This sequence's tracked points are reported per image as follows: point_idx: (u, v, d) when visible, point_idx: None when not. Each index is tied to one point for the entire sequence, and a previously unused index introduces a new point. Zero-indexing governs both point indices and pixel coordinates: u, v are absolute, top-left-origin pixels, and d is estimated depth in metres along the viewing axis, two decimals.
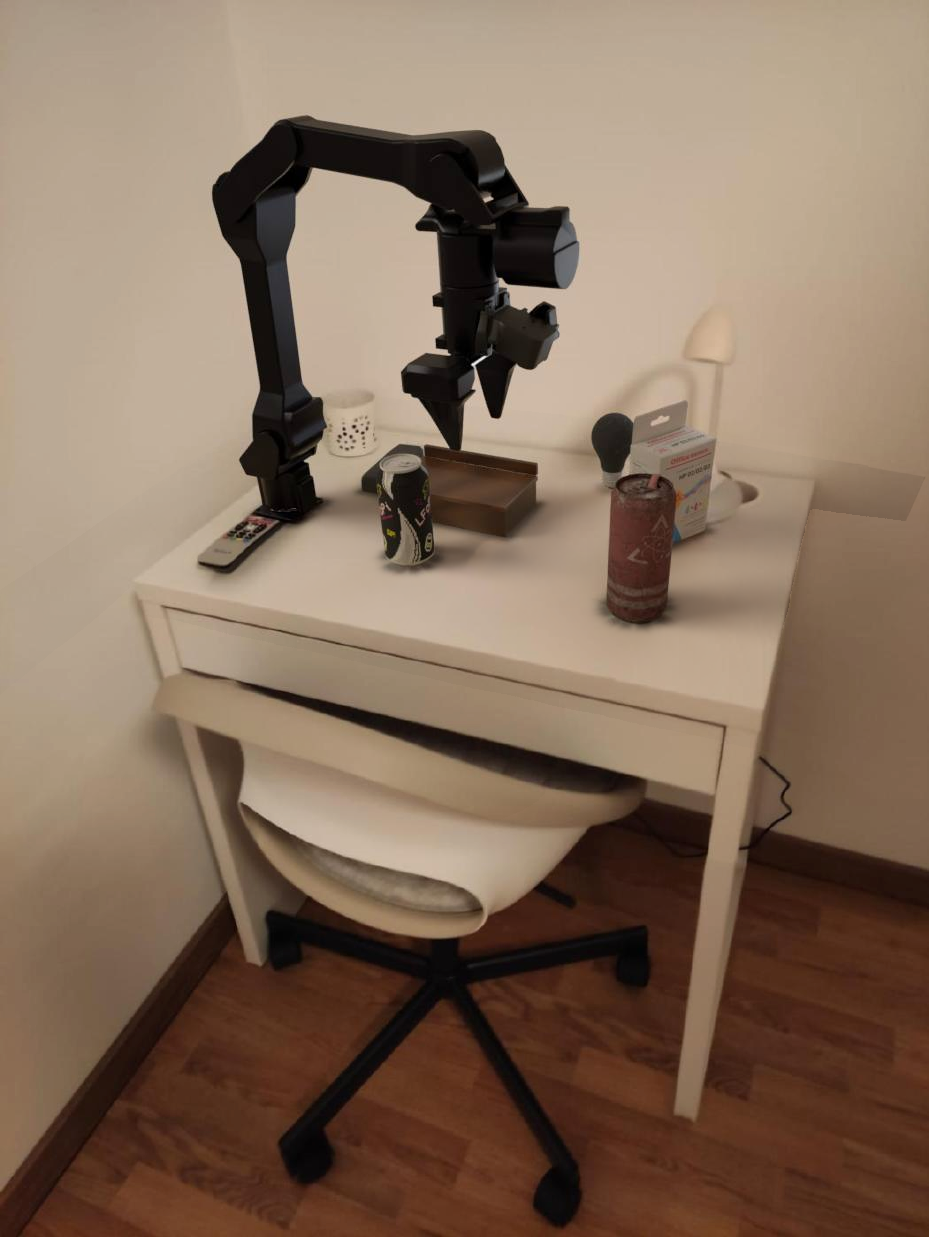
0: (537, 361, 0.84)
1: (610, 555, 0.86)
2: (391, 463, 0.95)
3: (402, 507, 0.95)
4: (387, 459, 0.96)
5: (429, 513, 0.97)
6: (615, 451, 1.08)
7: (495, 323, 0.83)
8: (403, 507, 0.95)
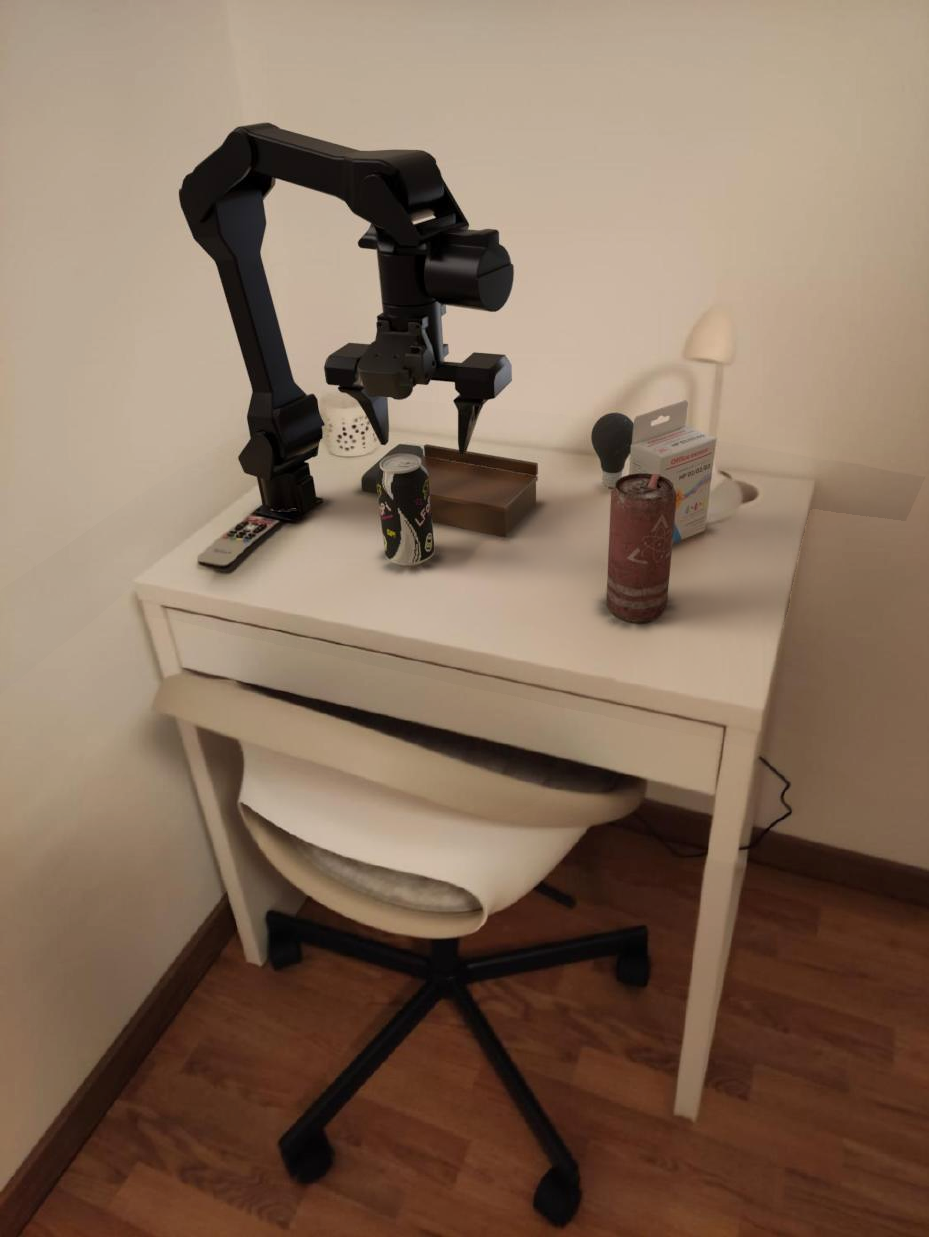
0: (371, 391, 0.84)
1: (610, 555, 0.86)
2: (391, 463, 0.95)
3: (402, 507, 0.95)
4: (387, 459, 0.96)
5: (429, 513, 0.97)
6: (615, 451, 1.08)
7: None
8: (403, 507, 0.95)
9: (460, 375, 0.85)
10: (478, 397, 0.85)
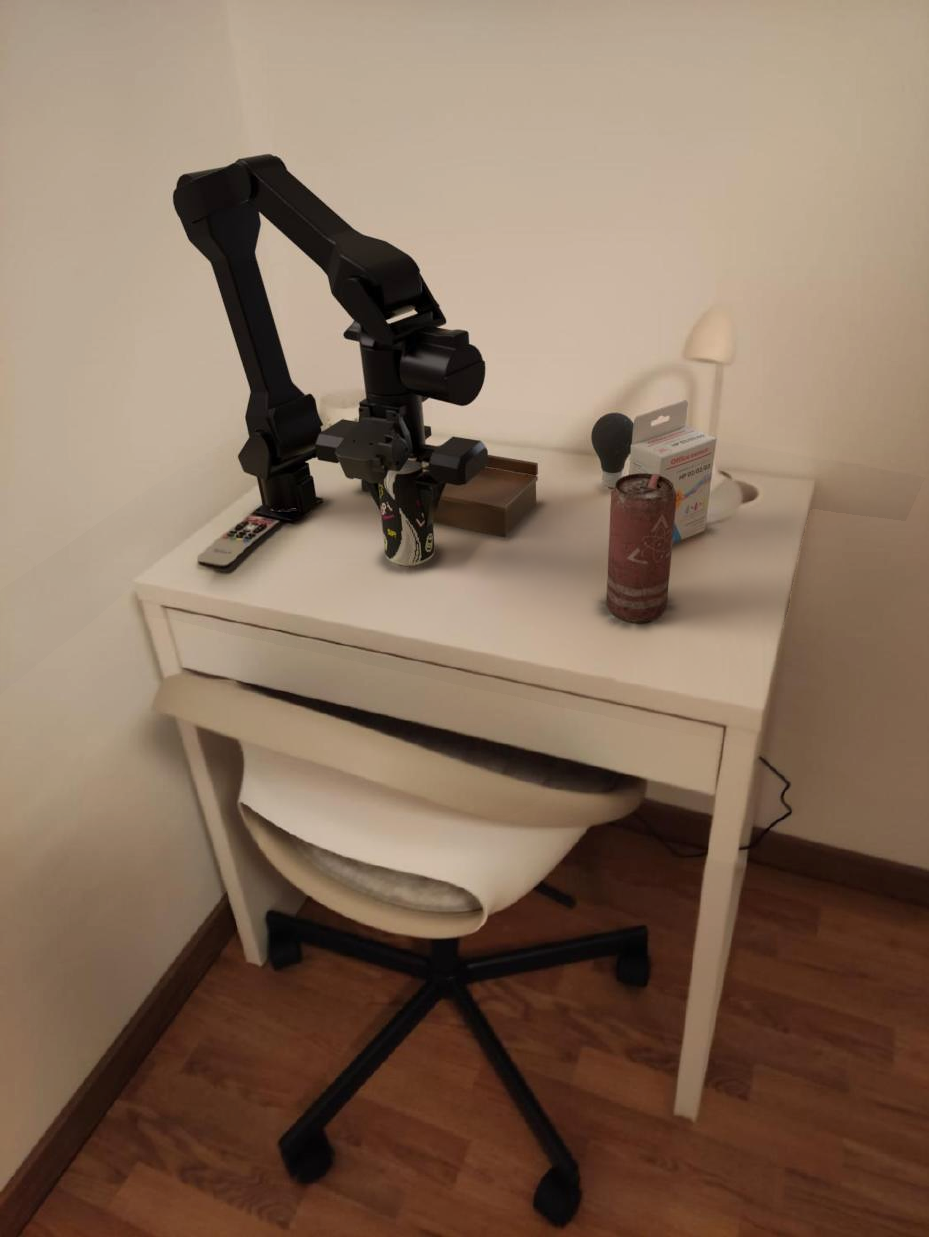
0: (348, 473, 0.89)
1: (610, 555, 0.86)
2: None
3: (403, 507, 0.95)
4: None
5: None
6: (615, 451, 1.08)
7: None
8: (405, 508, 0.95)
9: (434, 461, 0.89)
10: (450, 482, 0.89)
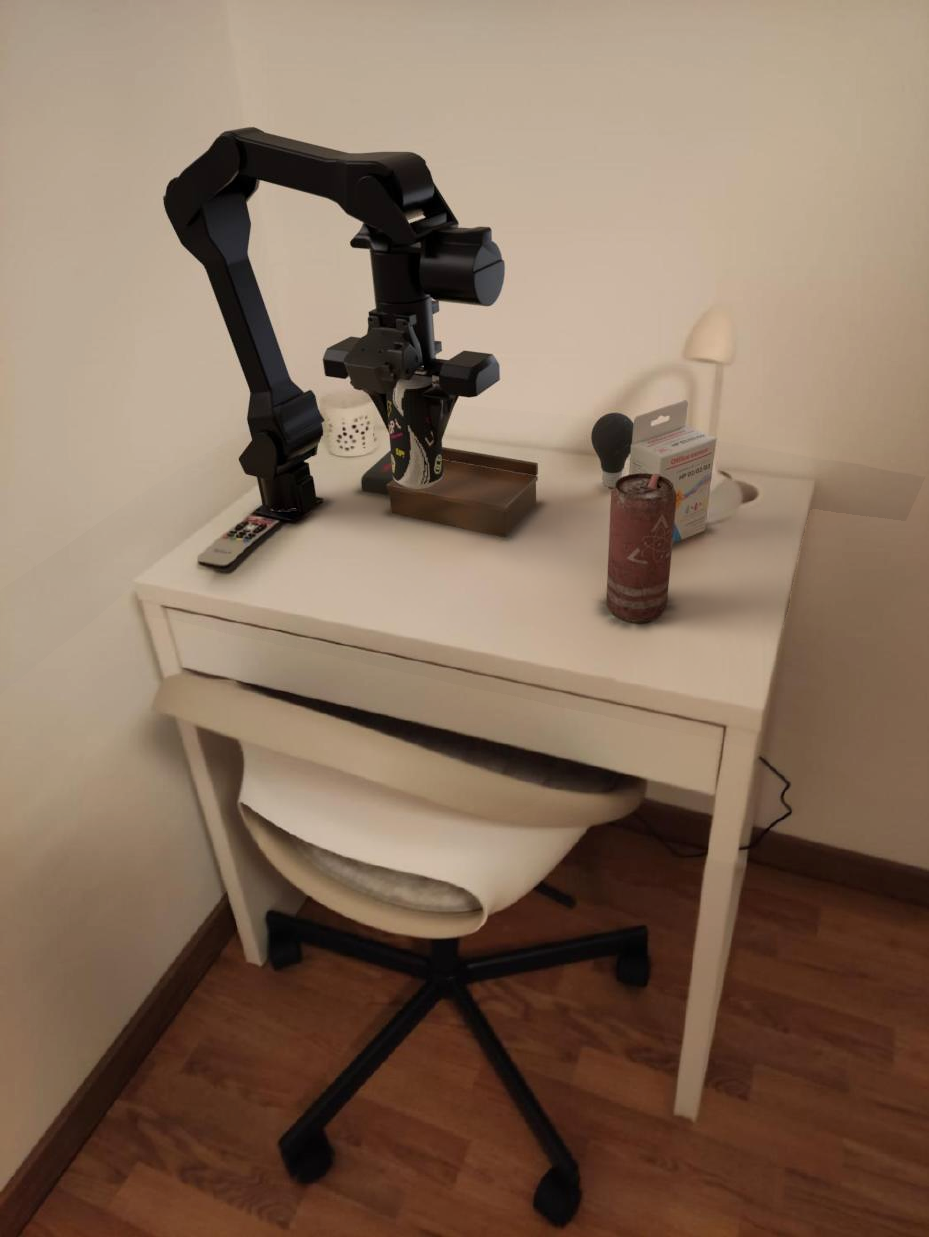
0: (356, 384, 0.87)
1: (610, 555, 0.86)
2: (402, 380, 0.93)
3: (412, 425, 0.93)
4: None
5: None
6: (615, 451, 1.08)
7: None
8: (413, 425, 0.93)
9: (444, 372, 0.87)
10: (460, 394, 0.87)
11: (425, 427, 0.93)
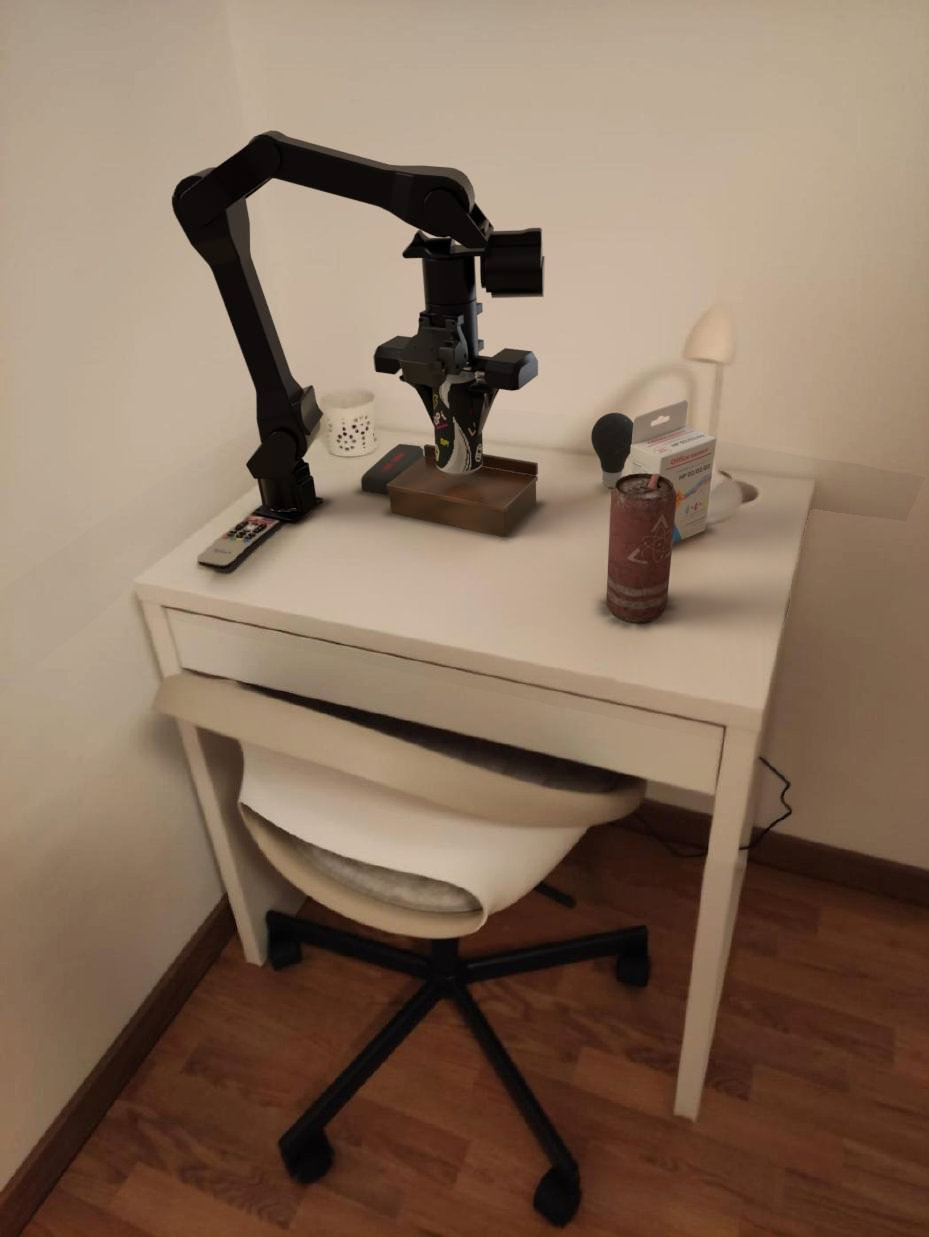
0: (409, 378, 0.95)
1: (610, 555, 0.86)
2: None
3: (457, 416, 1.01)
4: None
5: None
6: (615, 451, 1.08)
7: None
8: (458, 417, 1.01)
9: (489, 368, 0.95)
10: (504, 388, 0.95)
11: (468, 418, 1.02)
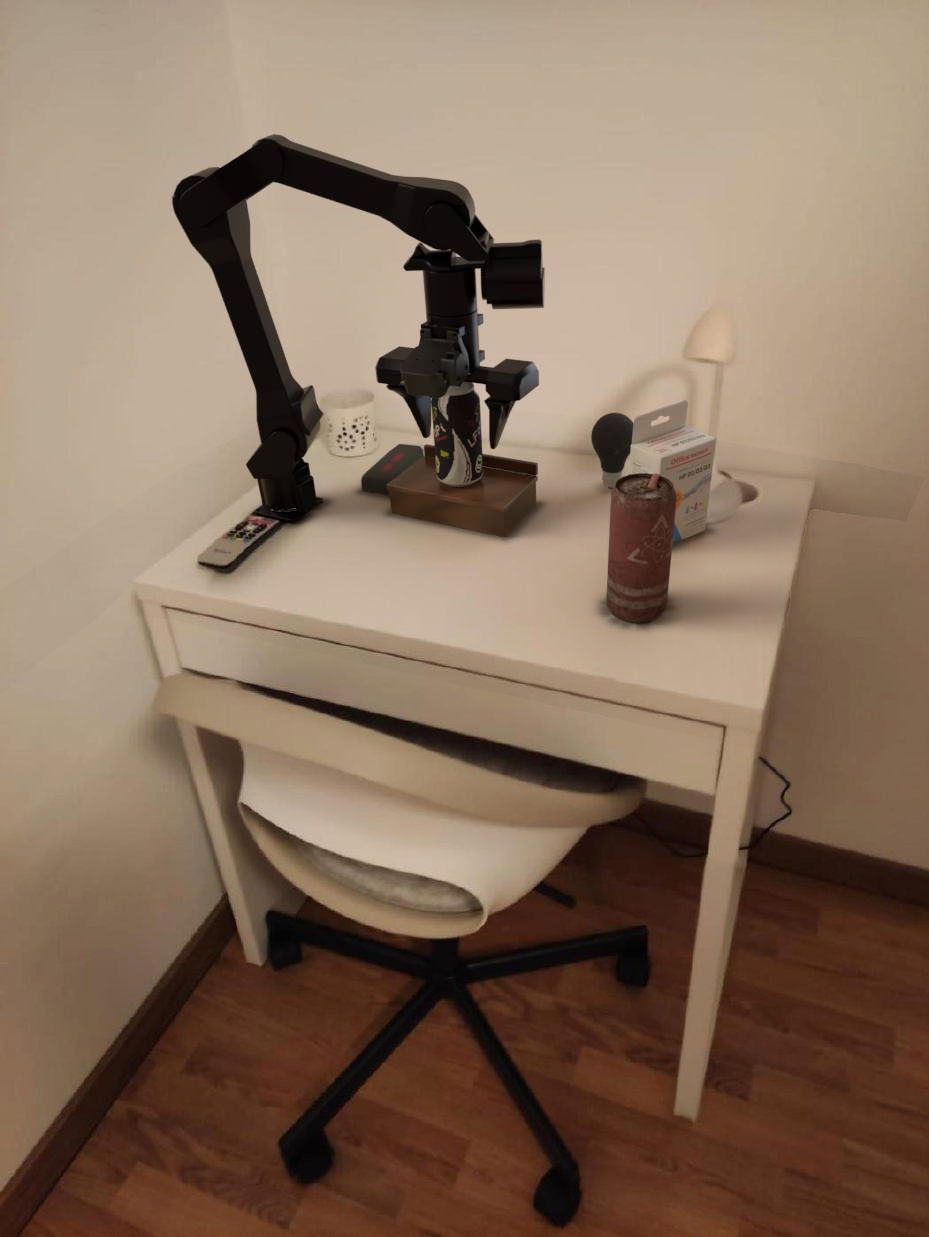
0: (411, 390, 0.96)
1: (610, 555, 0.86)
2: None
3: (456, 428, 1.02)
4: None
5: (480, 435, 1.05)
6: (615, 451, 1.08)
7: None
8: (457, 428, 1.02)
9: (490, 379, 0.96)
10: (505, 399, 0.96)
11: (468, 430, 1.02)
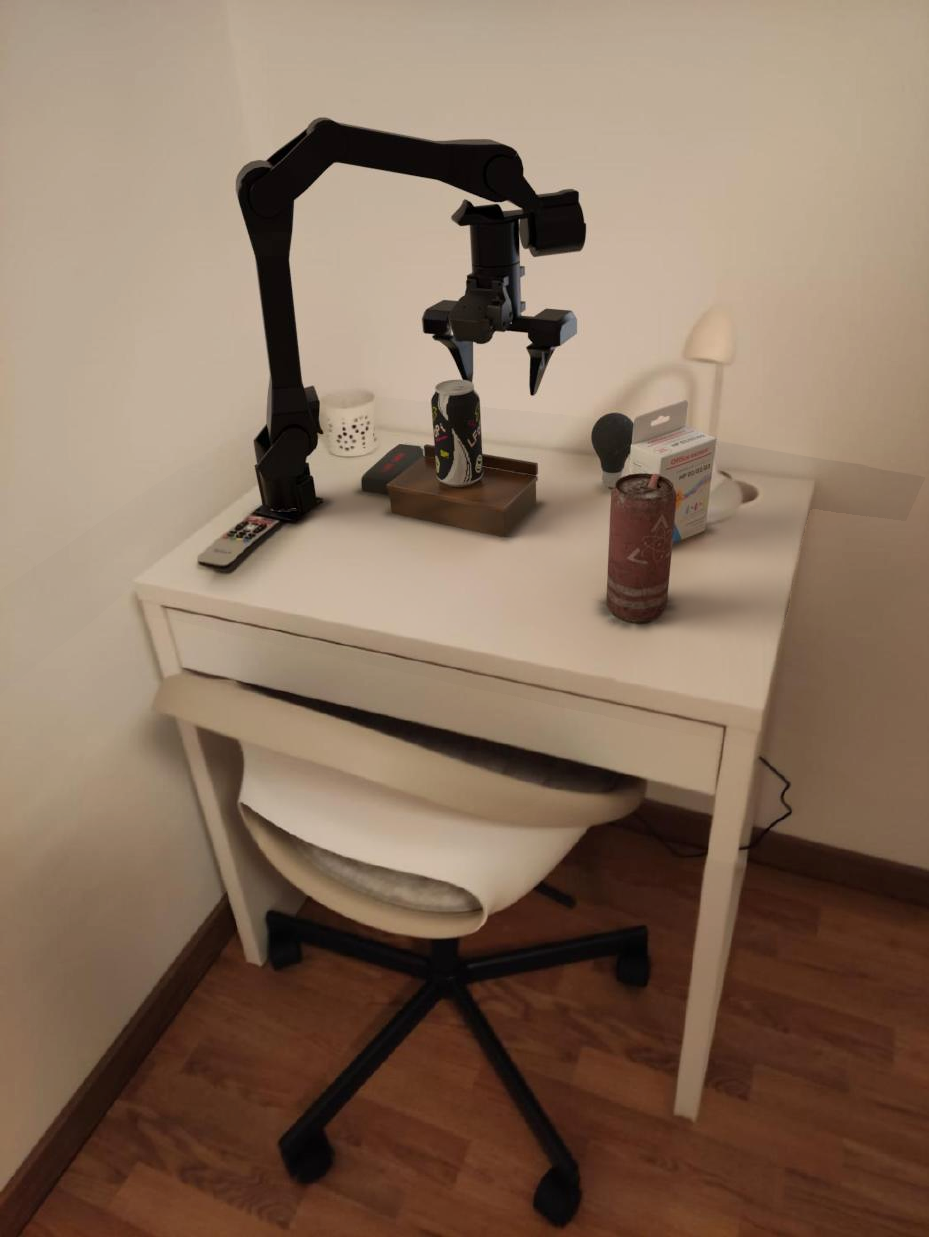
0: (458, 336, 1.02)
1: (610, 555, 0.86)
2: (445, 387, 1.03)
3: (456, 428, 1.02)
4: (441, 384, 1.03)
5: (480, 435, 1.05)
6: (615, 451, 1.08)
7: None
8: (457, 428, 1.02)
9: (532, 326, 1.02)
10: (546, 344, 1.02)
11: (467, 430, 1.02)
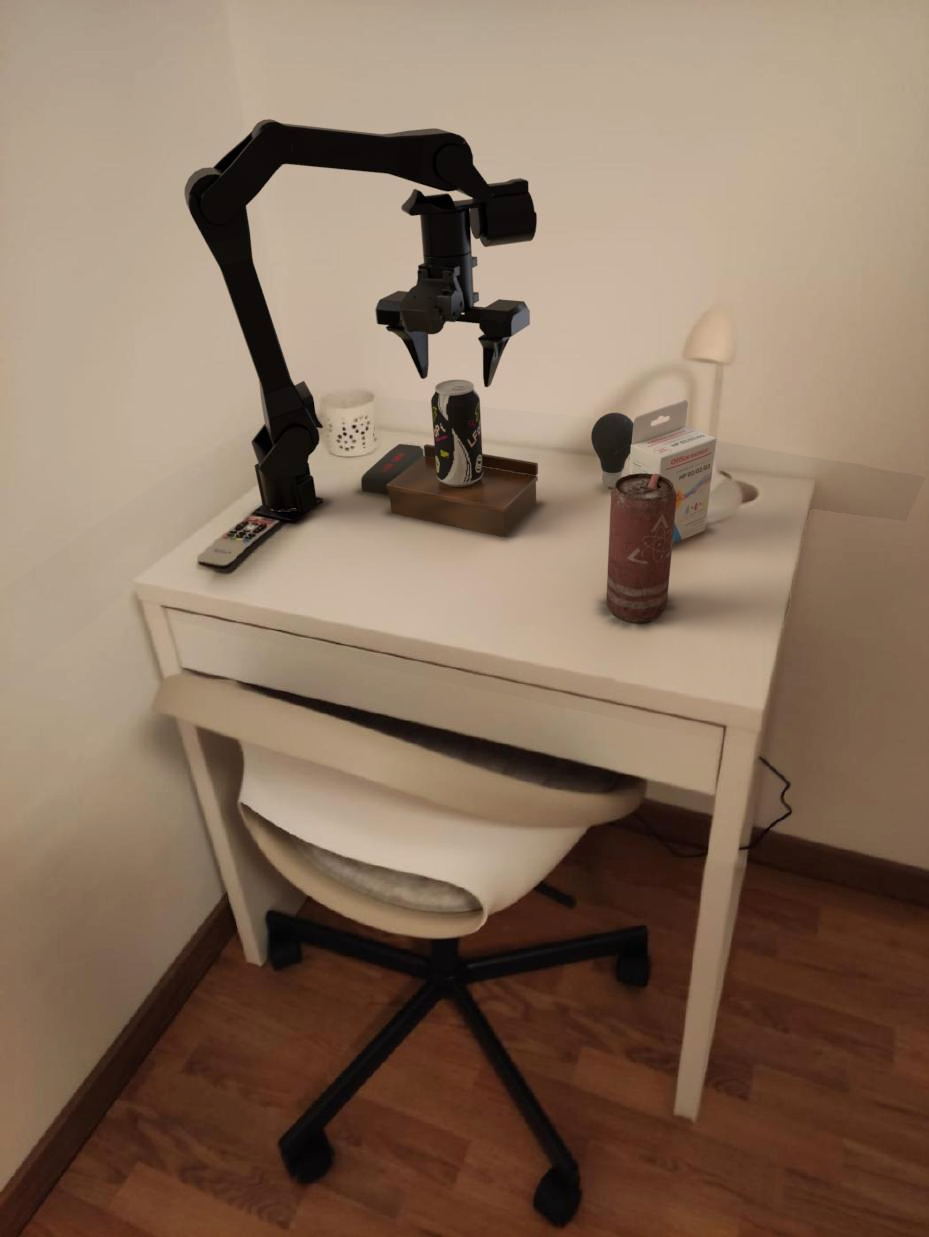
0: (409, 326, 1.02)
1: (610, 555, 0.86)
2: (445, 387, 1.03)
3: (456, 428, 1.02)
4: (441, 384, 1.03)
5: (480, 435, 1.05)
6: (615, 451, 1.08)
7: None
8: (457, 428, 1.02)
9: (484, 316, 1.02)
10: (498, 335, 1.02)
11: (467, 430, 1.02)
